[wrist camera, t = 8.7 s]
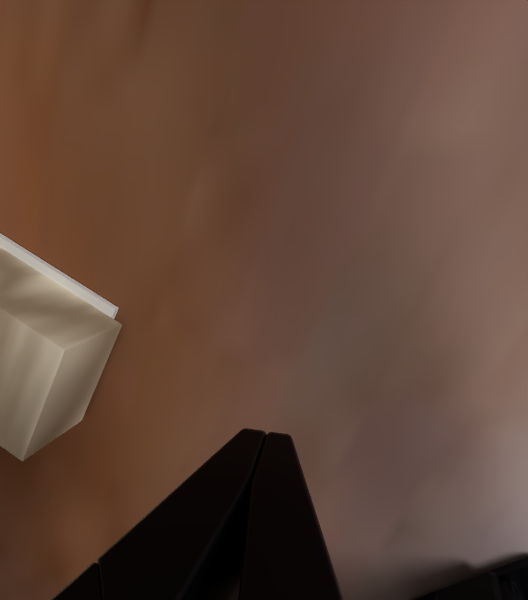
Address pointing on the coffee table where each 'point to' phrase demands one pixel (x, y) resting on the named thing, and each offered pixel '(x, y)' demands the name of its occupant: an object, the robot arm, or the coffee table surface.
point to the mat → (58, 277)
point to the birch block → (46, 356)
